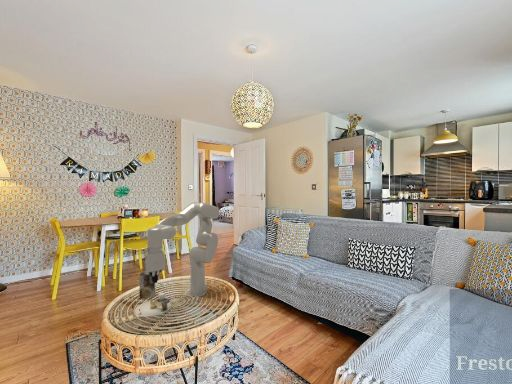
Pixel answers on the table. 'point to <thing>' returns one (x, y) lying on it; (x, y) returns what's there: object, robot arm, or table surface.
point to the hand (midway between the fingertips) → (154, 282)
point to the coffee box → (146, 286)
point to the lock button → (161, 297)
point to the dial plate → (151, 309)
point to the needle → (158, 304)
